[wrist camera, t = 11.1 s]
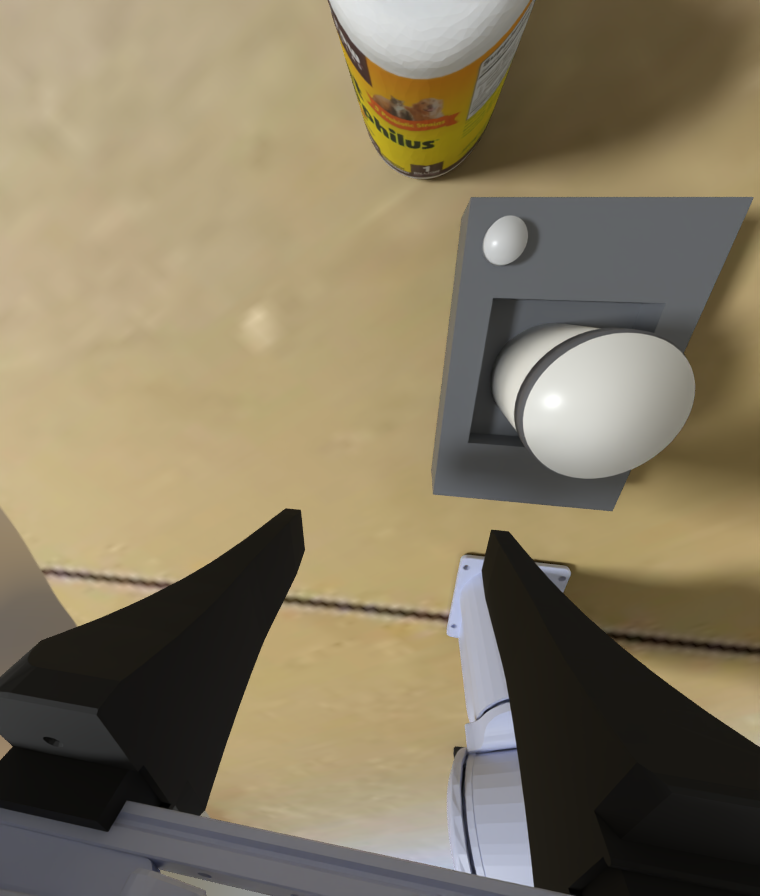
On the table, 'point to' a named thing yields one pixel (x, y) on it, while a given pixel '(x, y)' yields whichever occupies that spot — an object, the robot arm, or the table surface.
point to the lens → (592, 396)
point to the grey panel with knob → (563, 315)
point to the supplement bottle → (428, 73)
